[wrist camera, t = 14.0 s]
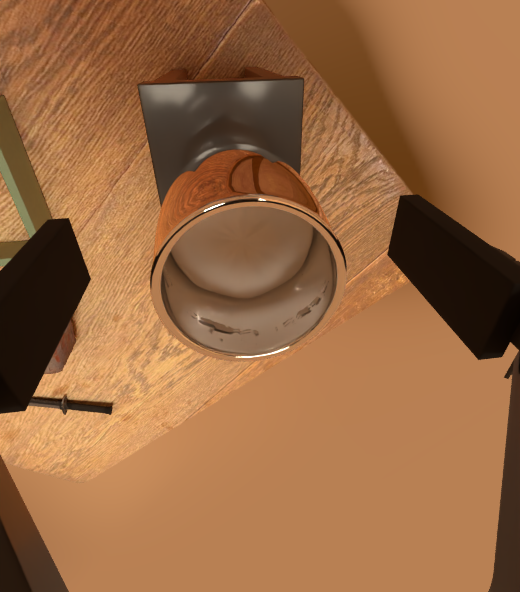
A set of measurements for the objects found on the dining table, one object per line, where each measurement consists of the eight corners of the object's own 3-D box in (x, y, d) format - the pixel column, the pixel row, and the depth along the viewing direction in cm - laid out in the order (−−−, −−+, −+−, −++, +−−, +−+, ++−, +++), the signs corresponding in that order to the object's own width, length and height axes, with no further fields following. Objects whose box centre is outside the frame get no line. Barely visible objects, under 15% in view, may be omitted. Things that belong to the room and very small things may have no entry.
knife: (-35, 407, 63) (-42, 391, 60) (-29, 398, 64) (-36, 382, 61) (109, 421, 68) (110, 407, 65) (112, 413, 69) (112, 399, 66)
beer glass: (202, 229, 26) (199, 387, 14) (157, 135, 22) (96, 240, 10) (290, 196, 25) (367, 331, 13) (260, 92, 21) (330, 150, 9)
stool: (169, 67, 38) (136, 84, 20) (260, 64, 39) (304, 77, 21) (183, 162, 44) (167, 239, 26) (261, 157, 45) (298, 229, 27)
